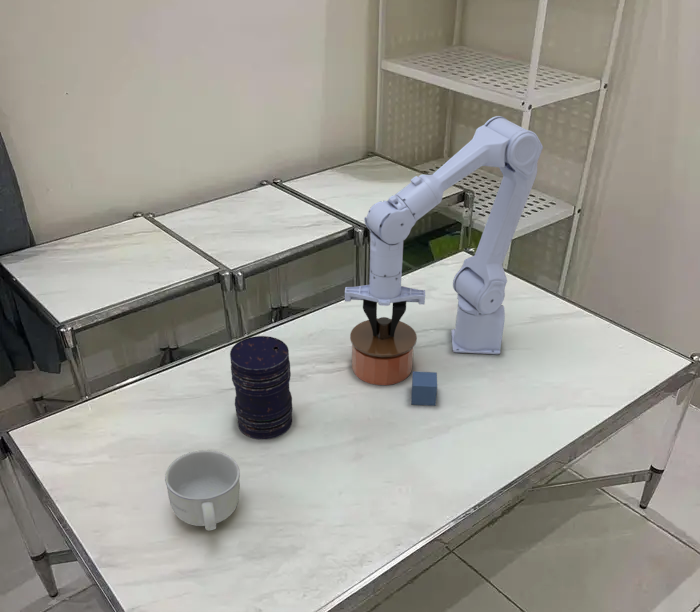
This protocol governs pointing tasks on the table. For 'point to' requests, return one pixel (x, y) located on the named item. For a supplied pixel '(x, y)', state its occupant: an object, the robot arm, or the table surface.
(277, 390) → the storage jar
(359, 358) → the bowl
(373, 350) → the lid
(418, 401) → the block
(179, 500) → the teacup
